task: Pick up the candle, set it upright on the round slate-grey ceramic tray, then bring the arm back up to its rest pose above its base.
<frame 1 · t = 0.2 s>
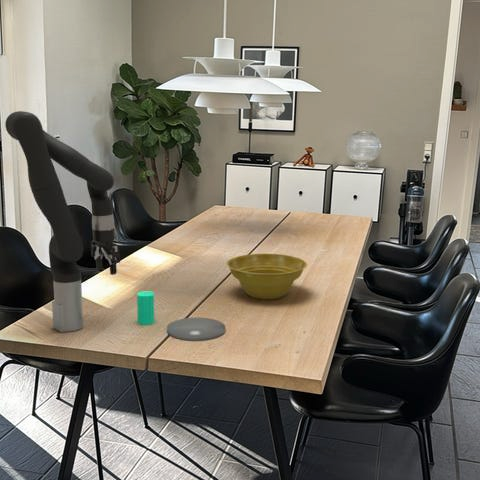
hand: (106, 271, 236), 18 cm above the table, tool pointing down, fingers open, 8 cm apart
candle: (146, 322, 239), on the table
planter bowl: (265, 295, 273), on the table
candle tray: (196, 330, 231), on the table
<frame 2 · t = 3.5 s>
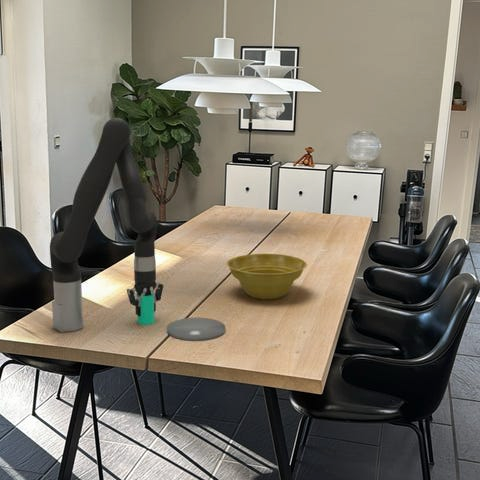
hand: (145, 314, 238), 3 cm above the table, tool pointing down, fingers closed on candle, 4 cm apart
candle: (146, 322, 239), on the table, touching gripper
everything else where it was.
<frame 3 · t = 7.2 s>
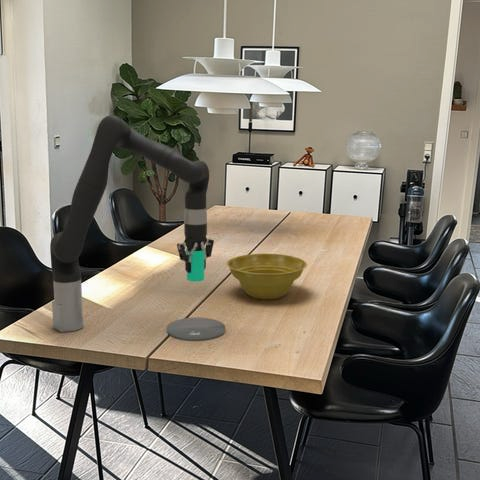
hand: (195, 271, 226), 21 cm above the table, tool pointing down, fingers closed on candle, 4 cm apart
candle: (195, 279, 227), point 18 cm above the table, touching gripper
everything else where it was.
when the fingers open (5 cm above the table, at t = 10.9 s): candle drops 1 cm, resting on candle tray.
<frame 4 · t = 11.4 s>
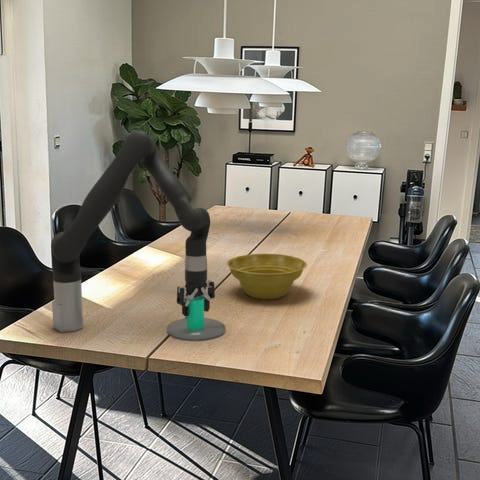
hand: (196, 313, 229), 6 cm above the table, tool pointing down, fingers open, 8 cm apart
candle: (195, 327, 230), point 1 cm above the table, touching candle tray
everything else where it was.
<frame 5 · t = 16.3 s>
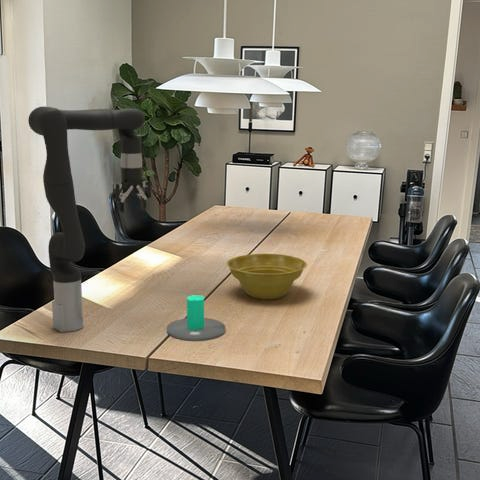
hand: (132, 211, 240), 38 cm above the table, tool pointing down, fingers open, 8 cm apart
nothing on the table moved.
at the end: candle inside the target area on the candle tray (0.3 cm from its centre), point 1.0 cm above the candle tray's base; candle tilted 0°; the gripper is holding nothing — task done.
